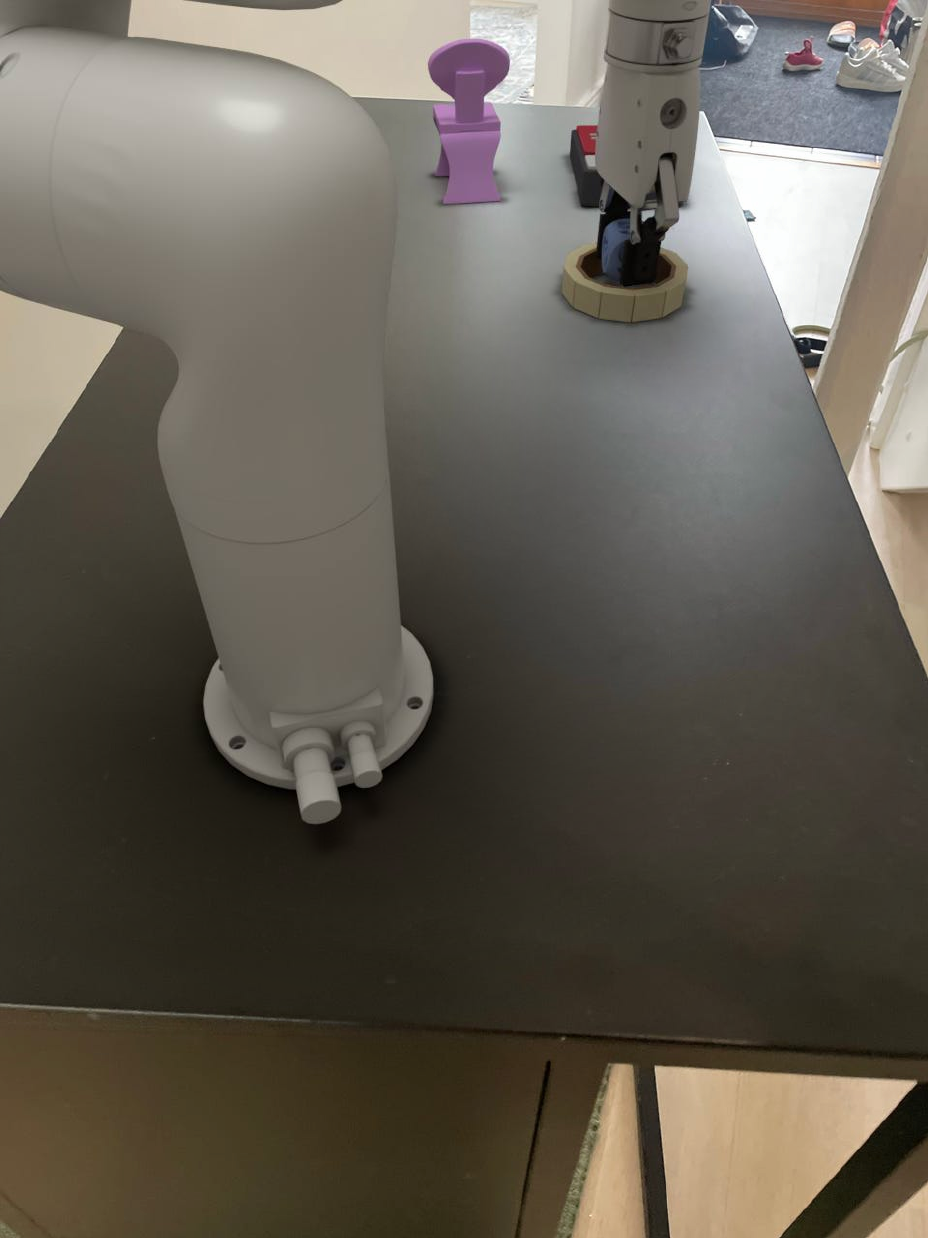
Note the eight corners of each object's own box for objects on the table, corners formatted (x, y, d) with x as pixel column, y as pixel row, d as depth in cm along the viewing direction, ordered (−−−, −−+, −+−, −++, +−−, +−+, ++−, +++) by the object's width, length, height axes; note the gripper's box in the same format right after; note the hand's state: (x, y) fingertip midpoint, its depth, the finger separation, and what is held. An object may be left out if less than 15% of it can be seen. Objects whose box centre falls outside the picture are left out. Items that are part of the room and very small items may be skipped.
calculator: (666, 121, 105) (690, 162, 95) (661, 161, 108) (683, 205, 97) (571, 121, 105) (584, 162, 95) (568, 161, 108) (581, 206, 97)
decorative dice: (643, 261, 84) (649, 217, 81) (650, 281, 81) (657, 236, 78) (600, 262, 84) (604, 218, 81) (605, 281, 81) (611, 236, 78)
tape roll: (703, 312, 82) (708, 285, 80) (588, 329, 80) (591, 302, 78) (652, 259, 89) (656, 233, 87) (546, 273, 87) (548, 248, 85)
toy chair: (497, 170, 105) (500, 18, 94) (510, 200, 99) (515, 41, 88) (425, 174, 104) (420, 21, 93) (434, 204, 98) (430, 45, 87)
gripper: (753, 65, 64) (704, 307, 77) (654, 8, 76) (626, 228, 89) (656, 73, 63) (622, 319, 76) (569, 14, 74) (553, 236, 87)
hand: (624, 267), depth 82 cm, fingers closed on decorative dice, 4 cm apart
